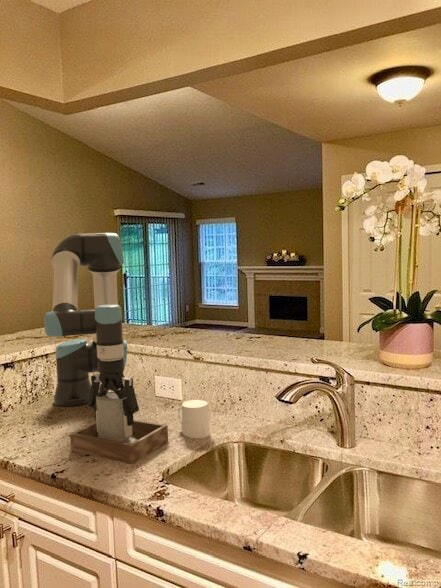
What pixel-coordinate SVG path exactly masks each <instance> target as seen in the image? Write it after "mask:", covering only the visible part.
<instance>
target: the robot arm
mask: <svg viewBox="0 0 441 588" xmlns="http://www.w3.org/2000/svg"><path fill="white" fill-rule="evenodd" d="M124 259H125V258H124V254H123V247H122V241H121V237H120V235H119V234H117V233H115V232H96V233H95V232H92V233H74V234H70V235H69V236H67V237H65V238H63V239H62V240H61V241H60V242H59V243H58V244H57V245H56V247H55V248H54V250H53V252H52V254H51V267H52V269H54V270H53V290H52V310H51V311H46V312H45V313H44V317H43V319H44V330H45V331H44V332H45V335H46V336H47V337H59V338H60V337H68V336H69V337H70V336H71V337H73V336H81V335H83V336H85V335H94V336H93V337H92V342H88V341H87V339H86V338H76V339H72V340H68V341H64V342H61V343H60V344H58V345H56V348H55V359H56V378H57V380H56V381H57V384H56V388H55V393H54V395H53V404H54V405H56V406H58V407H59V406H60V407H76V406H82V405H88V408H92V409H93V411H94V420H95V422H97V404H96V396H99V397H102V396H104V395H107V392H109V391H111V392H115V394H117V396H118V398H119V399H123V398H126V397H127V398H126V399H123V400H122V403H123V409H124V411H125V413H126V414H125V415H123V417H124V437H126V438H127V437H129V436H130V435H132V425H133V423H134V420H135V419H134V414H135V413H137V412H139V411H140V407H139V403H138V400H137V397H136V392H135V388H134V378H133V377H125V376H124V372H125V367H126V366H127V365H126V363H127V358H128V357H127V355H128V341H127V340H126V339H124V335H123V315H122V314H123V313H122V307H121V306H120V305H119V304H118V303H119V301H118V279H117V278H118V276H117V275H118V272H120V271H121V266H122V265H124V264H125V260H124ZM81 266H82V267H83V266H84V267H85V266H87V267H88V268H87V270H88V272H89V273H91V274H92V281H93V297H94V298H93V299H94V300H93V301H94V309H80V310H79V306H78V305H79V303H78V302H79V301H78V296H79V295H78V291H79V289H78V288H79V287H78V269H80V267H81ZM91 373H96V374H93V375H91V376H90V375H89V374H91ZM89 376H90V377H89ZM97 432H98V422H97Z"/></svg>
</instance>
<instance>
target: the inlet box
mask: <svg viewBox="0 0 441 588" xmlns="http://www.w3.org/2000/svg"><path fill="white" fill-rule="evenodd" d="M69 434H70V437H69V438H70V451H71V452H75V453H78V454H84V455H88V456H93V457H97V458H103V459H108V460H113V461H116V462H122V463H127V464H131V465H134V464H136V463H137V462H138V461H139V460H141V459H144V457H147V456H148V455H149V454H151V453H152V452H154V451H156V450H158V448H160V447H162V446H163V445H165V444H166V443H168V442H169V427H168V424H164V423H157V422H150V421H145V420H144V421H143V420H140V419H139V420H137V419H134V423H133V425H132V435H131V437H130V438H129V439H127V440H125V441H122V442H118V441H113V440H108V439H102V438H98V432H97V422H96V421H95V422H93V423H91V424H88V425H87V426H84V427H83V428H80V429H79V430H75V431H73V432H72V433H69Z"/></svg>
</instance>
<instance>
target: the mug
mask: <svg viewBox="0 0 441 588" xmlns="http://www.w3.org/2000/svg"><path fill="white" fill-rule="evenodd" d="M177 417H178V420H179V423H180V427H181V430H180V431H182V432H181V434H182V435H183V436H185V437H188V438H190V439H191V438H192V439H204V438H207V437H209V436H210V434H211V431H210V422H209V421H210V414H209V403H208V402H207V401H206V400H204V399H203V400H202V399H192V400H186V401H184V402H182V404H181V406H179V408H178V410H177Z"/></svg>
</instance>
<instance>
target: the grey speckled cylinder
mask: <svg viewBox="0 0 441 588" xmlns="http://www.w3.org/2000/svg"><path fill="white" fill-rule="evenodd" d="M126 398H127V397H126ZM126 398H123V399H126ZM123 399H119V398H118V396H117V394H115V392H114V391H108V392H107V395H104V396H102V397H99V396H96V404H97V422H98V438H102V439H108V440H113V441H118V442H122V441H125V440H127V439H129V438H130V437H131V435H130V436H129V437H127V438H126V437H124V417H123V415H125V414H126V413H125V411H124V409H123V403H122V400H123Z"/></svg>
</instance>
